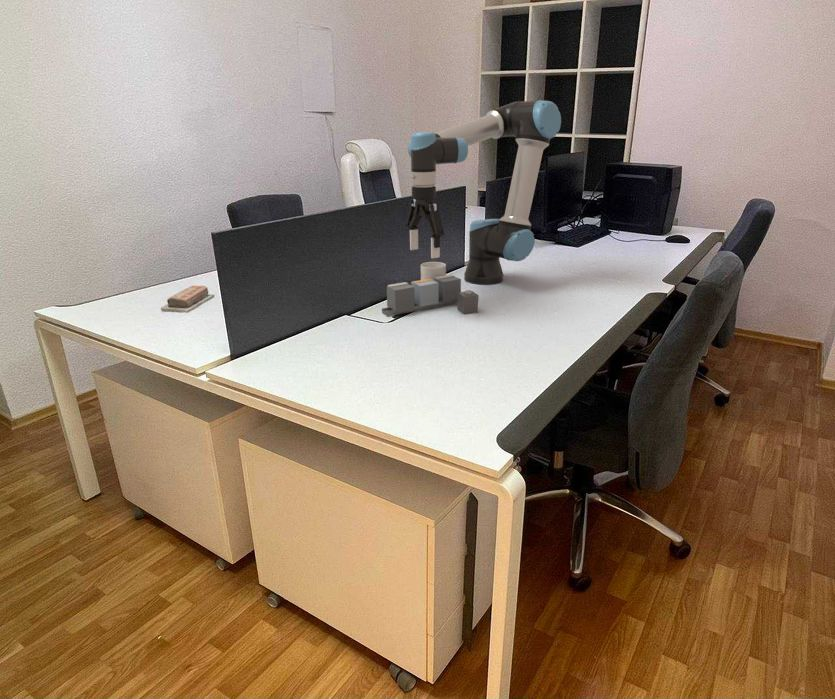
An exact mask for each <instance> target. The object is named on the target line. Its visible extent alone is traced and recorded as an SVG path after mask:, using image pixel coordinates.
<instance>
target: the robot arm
mask: <svg viewBox="0 0 835 699" xmlns="http://www.w3.org/2000/svg"><path fill="white" fill-rule="evenodd" d="M561 125H562V116H561V112H560V111H559V108H558V105H556V104H555V103H554V102H553V101H549V100H542V99H539V100H529V101H525V100H524V101H522V100H520V101H514V102H511V103H508V104H505V105H503V106H500V107H497V108H494V109H492V110H490V111H488V112H487V113H486V114H485V115H484V116H481V117H478V118H475V119H472V120H468V121H467V122H464V123H460V124H457V125H454V126H452V127H448V128H445V129H443V130H440V131H437V132H433V131H432V132H431V131H421V132H417V131H416V132H413V133H411V135H410V140H409V142H408V145H407V153H408V156H409V157H410V164H411V165H410V169H411V175H410V179H411V185H412V186H411V198H412V199H410V200H409V209H408V212H407V218H406V222H405V226H406V228H408V230H409V250H410V251H414V250H419V224H420V221H421V219H422V218H423V219H424V220H426V223H427V225H428V228H429V230H430V231H429V232H431V236H430V258H431V259H438V258H440V257H441V256H440V255H441V250H440V249H441V237H443V236H445V231H444V226H443V222H442V219H441V214H440V208H439V203H433V201H434V200H435V199H436V198H437V196H436V195H437V188H436V186H435V185H436V184H437V175H436V174H437V172H436V171H437V165H446V164H458V163H459V164H460V163H463V162H464V161H465V160H466V159H468V158H467V157H468V154H469V146H472V145H475V144H478V143H480V142H483V141H486V140H489V139H491V138H492V139H494V140H497V139H500V138H504V137H505V138H506V137H509V138H510V137H515V142H516V143H517V145H518V147H517V152H516V157H515V162H514V167H513V172H512V177H511V182H510V186H509V192H508V196H507V201H506V206H505V212H504V214H503V215H502V217H500V218H486V219H485V218H484V219H478V220H474V221H471V223H470V225H469V232H468V233H469V234H468V235H469V244H468V245H469V246H468V247H469V248H468V249H469V250H468V251H469V254H468V256H469V257H468V258H469V259H468V262H467V265H466V268H465V271H464V276H463V279H464V281H465V282H468V283H471V284H476V285H494V284H498V283H501V282H503V280H504V273H503V269H502V265H501V261H500V259H504V260H506V261H513V262H521V261H523V260H525V259H526V258H527V257H529V256H530V254H532V251H533V249H534V246H535V242H536V240H535V237H534V236H535V234H534V233H533V232H532V231H531V228H532V223H531V222H530V220H529V216H530V212H531V209H532V204H533V199H534V195H535V190H536V184H537V180H538V175H539V172H540V166H541V163H542V162H541V161H542V157H543V153H544V150H545V149H546V148H548V147H549V146H550V143H551V142H550V141H551V139H553V138H555V137H556V135H557V134H558V133H560V132H559V131H560V129H561Z"/></svg>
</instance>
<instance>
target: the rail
mask: <svg viewBox="0 0 835 699" xmlns="http://www.w3.org/2000/svg"><path fill="white" fill-rule="evenodd" d="M454 304H458V300H452V301H447V302H442V301H440V300H439V303H437V304H431V305H426V306H421V307H420V306H418V305H416V304H415V308H410V309H405V310H400V311H394V310H393V309H391V308H389V307H388V306H386V307H382V308H381V313H382V314H383V315H384V316H386V317H392V316H397V315H402V314H403V315H404V314H407V313H413V312H417V311H423V310H427V309H434V308H438V307H443V306H448V305H454Z"/></svg>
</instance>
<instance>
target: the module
mask: <svg viewBox="0 0 835 699" xmlns="http://www.w3.org/2000/svg"><path fill="white" fill-rule="evenodd" d="M410 285H411V286H413V287H414V295H415V304H416V305H418V306H420V307H421V306H426V305H431V304H437V303H439V283H438V282H436V281H433V280H432V279H425V280H421V279H420V280H414V281H411V282H410Z"/></svg>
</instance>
